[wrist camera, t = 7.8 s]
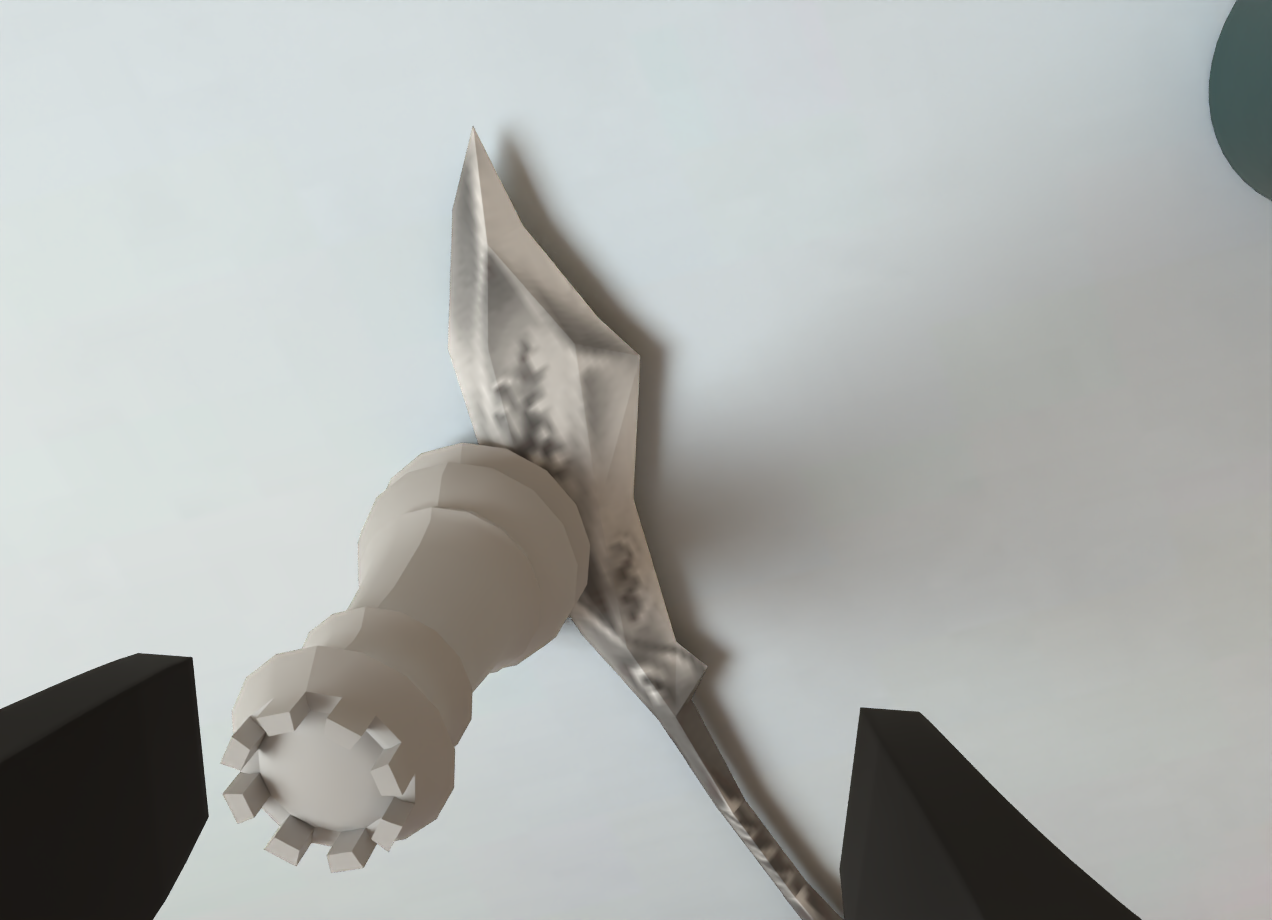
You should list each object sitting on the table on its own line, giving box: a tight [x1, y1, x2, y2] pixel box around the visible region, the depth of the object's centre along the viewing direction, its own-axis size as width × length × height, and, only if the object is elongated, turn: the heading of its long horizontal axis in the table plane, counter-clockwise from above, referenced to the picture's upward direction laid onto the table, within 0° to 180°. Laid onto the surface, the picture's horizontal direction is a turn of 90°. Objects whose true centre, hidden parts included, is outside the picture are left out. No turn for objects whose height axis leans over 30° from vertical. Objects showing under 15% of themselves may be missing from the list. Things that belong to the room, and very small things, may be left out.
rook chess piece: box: [220, 443, 590, 873], centre depth 17 cm, size 4×4×8 cm
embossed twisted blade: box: [448, 127, 843, 920], centre depth 22 cm, size 32×1×5 cm
